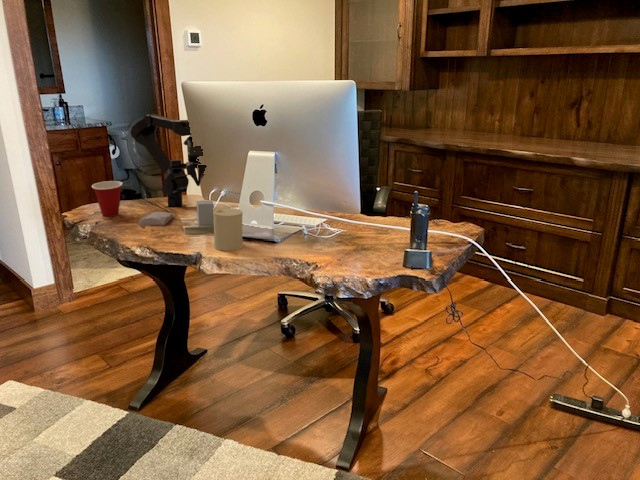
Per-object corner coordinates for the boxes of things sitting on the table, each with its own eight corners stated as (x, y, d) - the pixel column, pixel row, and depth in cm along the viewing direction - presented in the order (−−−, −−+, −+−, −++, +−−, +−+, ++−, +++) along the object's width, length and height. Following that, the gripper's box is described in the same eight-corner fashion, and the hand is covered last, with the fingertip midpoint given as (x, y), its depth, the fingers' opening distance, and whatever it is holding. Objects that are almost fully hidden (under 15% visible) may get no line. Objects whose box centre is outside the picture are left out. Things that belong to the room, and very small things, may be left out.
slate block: (197, 225, 183) (196, 200, 180) (211, 224, 184) (211, 200, 181) (199, 229, 178) (198, 204, 175) (213, 228, 180) (213, 203, 177)
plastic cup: (88, 214, 195) (85, 183, 191) (113, 209, 203) (110, 179, 200) (106, 220, 189) (103, 187, 185) (131, 214, 198) (128, 183, 194)
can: (217, 241, 170) (217, 206, 167) (245, 242, 170) (245, 207, 166) (210, 250, 162) (209, 213, 158) (239, 252, 161) (239, 214, 158)
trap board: (180, 221, 191) (180, 212, 190) (221, 219, 196) (221, 211, 195) (185, 237, 173) (184, 228, 172) (229, 234, 178) (229, 225, 177)
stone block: (138, 233, 182) (166, 228, 181) (135, 220, 180) (163, 215, 180) (149, 225, 193) (175, 221, 193) (145, 213, 192) (172, 208, 192)
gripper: (167, 138, 186) (170, 174, 179) (220, 136, 190) (224, 172, 184) (170, 155, 195) (172, 191, 189) (220, 153, 200) (224, 188, 194)
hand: (198, 185), depth 189 cm, fingers closed
